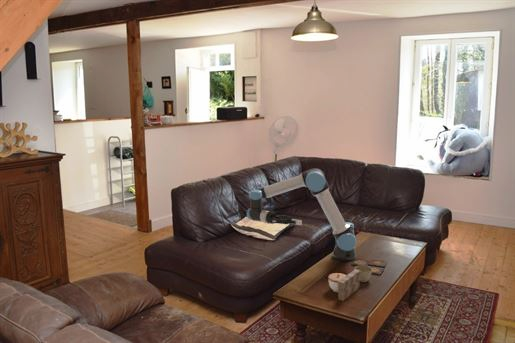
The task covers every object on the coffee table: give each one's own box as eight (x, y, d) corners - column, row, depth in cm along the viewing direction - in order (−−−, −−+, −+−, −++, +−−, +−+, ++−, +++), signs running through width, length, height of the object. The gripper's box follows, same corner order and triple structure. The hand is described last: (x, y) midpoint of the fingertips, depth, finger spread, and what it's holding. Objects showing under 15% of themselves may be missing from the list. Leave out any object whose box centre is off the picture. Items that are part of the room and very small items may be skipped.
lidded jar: (348, 294, 243) (348, 278, 241) (328, 293, 245) (328, 277, 243) (347, 286, 253) (348, 270, 252) (328, 285, 255) (328, 269, 254)
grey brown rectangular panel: (354, 286, 253) (355, 269, 252) (359, 287, 252) (360, 270, 250) (338, 299, 238) (338, 281, 236) (343, 300, 236) (343, 282, 234)
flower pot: (372, 277, 264) (373, 266, 263) (371, 284, 255) (371, 272, 253) (355, 275, 267) (355, 264, 266) (353, 282, 258) (353, 270, 257)
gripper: (275, 220, 286) (307, 226, 272) (262, 225, 276) (295, 231, 262) (274, 208, 285) (306, 214, 271) (262, 213, 275) (295, 219, 261)
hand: (301, 222), depth 267 cm, fingers closed
